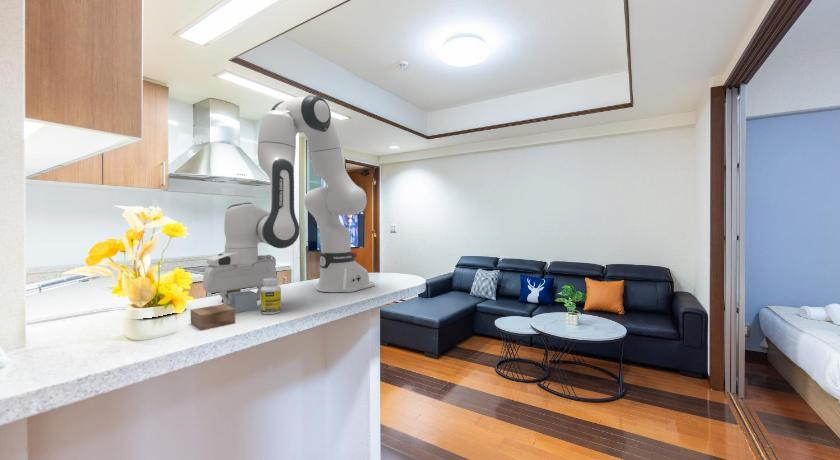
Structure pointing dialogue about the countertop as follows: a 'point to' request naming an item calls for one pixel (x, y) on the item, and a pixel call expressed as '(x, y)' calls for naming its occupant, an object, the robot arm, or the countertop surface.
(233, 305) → the blue block
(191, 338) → the countertop surface
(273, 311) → the supplement bottle
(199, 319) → the base block
